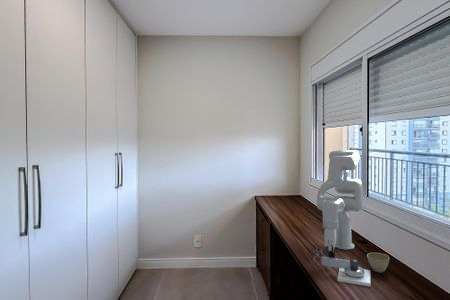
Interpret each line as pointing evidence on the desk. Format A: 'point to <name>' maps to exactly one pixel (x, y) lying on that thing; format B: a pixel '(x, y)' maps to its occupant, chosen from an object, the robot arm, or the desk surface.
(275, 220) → the desk surface
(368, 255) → the flower pot
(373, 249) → the desk surface
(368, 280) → the dial plate
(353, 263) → the dial
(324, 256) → the pliers
